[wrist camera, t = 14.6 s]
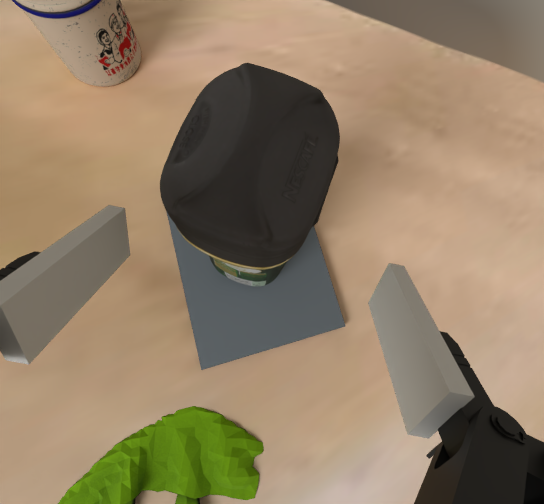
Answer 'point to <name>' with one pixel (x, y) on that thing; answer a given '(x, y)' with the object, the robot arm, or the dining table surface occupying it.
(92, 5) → the teacup with lid
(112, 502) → the cloth
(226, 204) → the coffee jar
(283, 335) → the mat
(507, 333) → the dining table surface
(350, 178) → the dining table surface
